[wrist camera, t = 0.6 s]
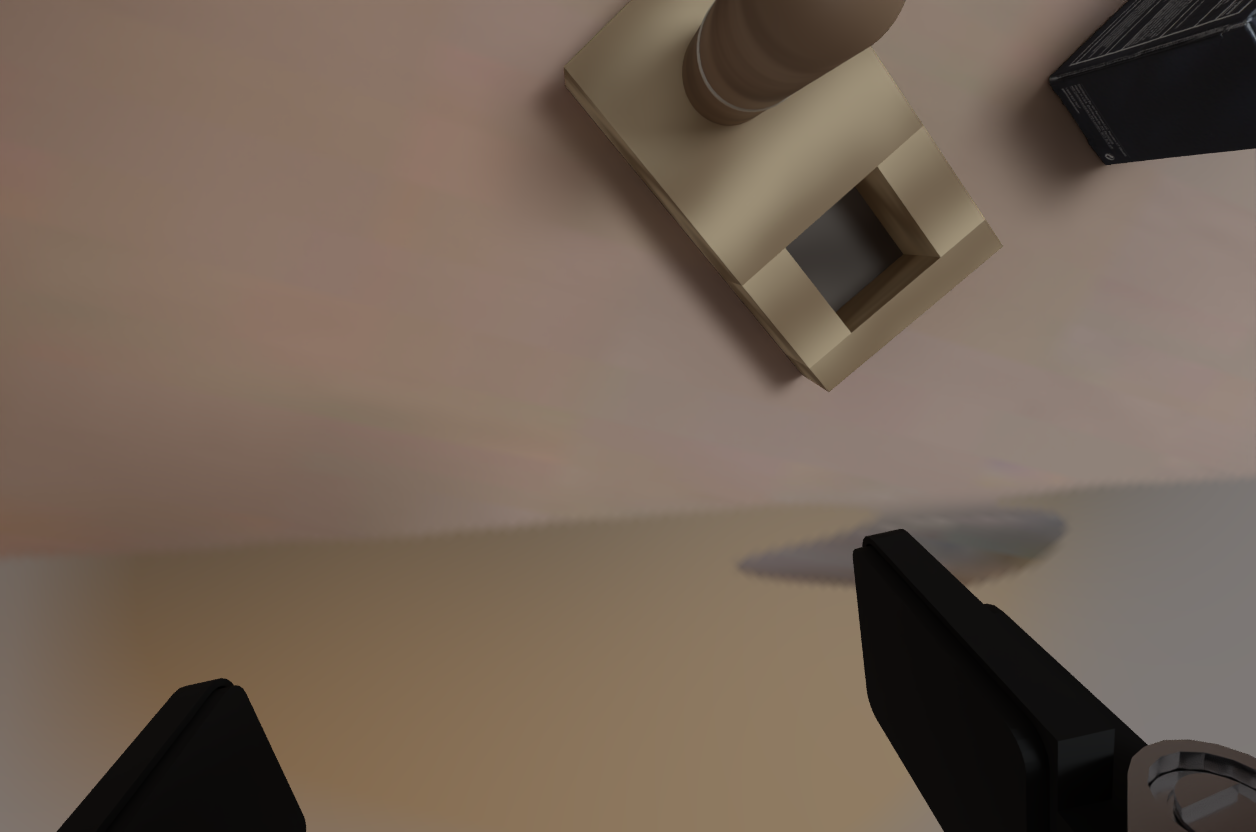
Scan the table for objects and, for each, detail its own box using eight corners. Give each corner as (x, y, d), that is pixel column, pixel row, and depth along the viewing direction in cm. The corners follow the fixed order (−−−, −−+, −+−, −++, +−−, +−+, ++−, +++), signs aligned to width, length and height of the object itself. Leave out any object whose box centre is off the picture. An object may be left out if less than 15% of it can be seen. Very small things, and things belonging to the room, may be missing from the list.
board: (565, 86, 32) (563, 66, 28) (734, -81, 31) (757, -125, 27) (802, 375, 37) (828, 392, 33) (957, 244, 36) (1003, 246, 32)
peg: (738, -10, 28) (852, -175, 16) (800, 77, 29) (946, -20, 18) (660, 66, 28) (717, -44, 17) (723, 148, 30) (817, 98, 18)
